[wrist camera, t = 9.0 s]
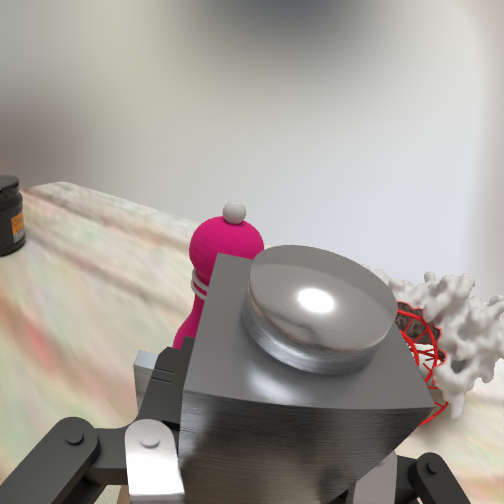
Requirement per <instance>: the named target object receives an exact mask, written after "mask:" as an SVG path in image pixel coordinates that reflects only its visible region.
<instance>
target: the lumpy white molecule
mask: <svg viewBox="0 0 504 504" xmlns="http://www.w3.org/2000/svg"><path fill="white" fill-rule="evenodd" d="M362 266H363V267H365V268H367V269H368V270H370V269H369V267H368V266H367V265H366V264H364V265H362ZM371 272H372V271H371ZM372 273H374V274H375V275H376V276H378V277H379V278H380V279H381V280H382V281H383V282H384V283H385V284H386V285H387V286H388V287H389V288H390V290H391V291H392V293H393V294H394V296H395V298H396V301H397V305H398V312H397V315H396V318H395V320H394V321H395V323H396V325H397V327H398V329H399V330H400V332H401V334H402V336H403V338H404V340H405V342H406V343H408V344H409V345H407V346H408V347H409V346H411V348H412V349H411V348H409V350H410V351H411V352H413V353H414V356H415V357H413V358H414V359H415V362H416V364H417V366H418V367H419V355H418V353H420V354H424V355H427V356H430V357H433V358H430V359H426V360H425V361H429V360H433V359H434V362H433V366H432V369H431V370H430V369H429V368H428V367H427V366H426V365H425V364H424V363H423V365H424V366H425V367H426V368H427V369H428V370H429V371H430V372H429V374H428V376H427V377H426V379H425V380H424V381H425V383H426V382H427V381H428V380H429V379H430V377H431V375H432V380H433V381H432V386H433V385H436V386H437V387H430V386H427V387H428V388H433V389H441V390H442V393H443V398H444V400H445V401H446V403H445V405H444V406H442V405H440V404H438V403H437V402H435V401H434V403H435V404H437V405H439V406H440V407H442V408H441V409H440V410H439V411H438V412H436V413H435V414H434V415H432V416H431V417H430V418H428V419H427V420H426V419H424V421H422V423H421V424H420V425H423V424H425V423H427V422H429V421H431V420H432V419H433V418H435V417H436V416H437V415H439V414H440V413H441V412H442V411H443V410H444V409H445V408H446V407H447V405H448V404H450V409H451V413H450V419H451V420H452V421H456V420H457V419H459V418H460V416H461V415H462V413H463V411H464V404H465V398H464V393H465V392H466V391H470V390H471V389H472V388H473V387H474V380H475V379H476V378H477V377H481V378H482V381H483V382H484V383H489V382H490V381H491V380H492V379H493V376H494V367H495V362H496V361H497V360H498V359H499V358H503V359H504V319H503V318H504V315H503V312H504V297H503V296H502V295H497V296H494V297H492V298H491V300H490V302H489V304H488V303H487V302H486V301H482V302H481V300H480V298H479V296H473V297H472V298H470V299H469V294H470V291H471V290H472V287H474V286H475V280H474V278H472V277H470V276H469V275H468V274H466V273H465V274H462V275H461V276H455V275H448V276H444V277H443V278H442V279H441V280H439V279H435V275H434V273H433V272H426V273H425V274H424V279H425V283H423V284H419V285H417V286H416V287H414V285H413V284H412V283H410V282H409V281H408V280H403V281H400V280H398V279H396V278H391V279H390V278H389V276H388V275H386V274H385V272H384V271H383V270H381V269H378V270H376V271H374V272H372ZM414 343H416V344H423V345H427V344H429V345H433V347H434V349H430V350H425V351H420V350H417V349H416V347H415V345H414ZM437 349H438V350H437ZM433 350H434V354H431V353H427V352H429V351H433ZM444 359H445V360H444ZM437 360H440V361H441V362H442V363H440V364H439V365H437V366H436V364H437ZM420 425H419V426H420Z"/></svg>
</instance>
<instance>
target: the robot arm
mask: <svg viewBox="0 0 504 504" xmlns="http://www.w3.org/2000/svg"><path fill="white" fill-rule="evenodd" d="M194 342H195V338H194V337H189V336H184V339H183V343H182V346H181V350H180V349H176V348H171V347H167V348H166V349H164V350H163V351H162V352H161V353H160V354H159V355H158V357H157V360H156V363H155V366H154V370H153V372H152V375H151V378H150V380H149V383H148V386H147V389H146V392H145V395H144V398H143V401H142V405H141V408H140V411H139V414H138V416H137V417H136V419H135V420H134V421H133V422H132V423H131V424H129V425H127V426H125V427H122V428H117V429H104V428H94V427H93V426H92V425H91V424H90V423H89V422H88V421H86V420H84V419H82V418H78V417H67V418H64V419H62V420H60V421H59V422H58V423H56V425H55V426H54V427H53V428H52V429H51V430H50V431H49V432H48V433H47V434H46V435H45V436H44V438H43V439H42V440H41V441H40V442H39V443H38V444H37V445H36V446H35V447H34V449H33V450H32V451H31V452H30V453H29V454H28V455H27V456H26V457H25V458H24V460H23V461H22V462H21V463H20V464H19V465H18V466H17V467H16V468H15V470H14V471H13V472H12V473H11V474H10V475H9V476H8V477H7V479H6V480H5V481H4V482H3V483H2V484H1V485H0V504H94V503H95V501H96V500H97V498H98V497H99V496H100V494H101V493H102V492H103V490H104V489H105V487H106V486H107V485H129V490H130V499H131V502H130V504H189V503H188V501H187V499H186V496H185V492H184V488H183V483H182V478H181V473H180V469H177V468H178V451H179V436H180V422H181V410H182V398H183V388H184V384H185V380H186V376H187V371H188V367H189V363H190V359H191V355H192V351H193V347H194ZM418 497H420V499H421V501H422V503H423V504H471V503H470V501H469V500H468V498H467V496H466V495H465V493H464V491H463V490H462V488H461V487H460V485H459V483H458V482H457V480H456V479H455V477H454V475H453V474H452V472H451V471H450V469H449V467H448V466H447V464H446V463H445V461H444V460H443V459H442V458H441V457H440V456H439V455H437V454H435V453H431V452H428V453H425V454H423V455H421V456H420V457H419V458H418V459H413V458H408V457H403V456H399V455H396V453H395V451H394V450H393V451H392V452H391V453H390V454H389V455H388V456H387V457H386V458H385V459H384V460H382V461H381V462H380V463H379V464H378V465H377V466H376V467H374V468H373V469H372V470H371V471H370V472H368V473H367V474H366V475H365V476H364V477H362V478H361V479H357V480H355V481H354V482H353V483H352V484H350V485H349V488H348V489H347V490H346V491H344V492H343V493H342V494H340V495H339V496H338V497H336V498H335V499H333V500H332V501H331V502H326V503H325V504H419V502H418V500H417V498H418Z"/></svg>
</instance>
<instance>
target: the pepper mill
mask: <svg viewBox="0 0 504 504" xmlns="http://www.w3.org/2000/svg"><path fill="white" fill-rule="evenodd" d="M245 216H246V209H245V206H244V205H243V204H242V203H240V202H238V201H231V202H229V203H227V204H226V205H225V206H224V208H223V216H221V217H214V218H212V219H208V220H207V221H205V222H204V223H202V224H201V225H200V226H199V227H198V228H197V229H196V231H195V232H194V234H193V236H192V239H191V242H190V247H189V255H190V260H191V262H192V264H193V266H194V267H195V268H194V269H193V271H192V280H191V288H192V290H193V292H194V293H195V300H194V305H193V309H192V312H191V314H190V315H189V317H188V318H187V319H186V320H185V322H184V323H183V324H182V325H181V327H180V328H179V330H178V332H177V334H176V336H175V339H174V343H173V348H176V349H180V350H181V346H182V343H183V339H184V336H189V337H194V338H196V334H197V330H198V326H199V322H200V318H201V315H202V311H203V307H204V303H205V299H206V295H207V291H208V287H209V284H210V280H211V276H212V272H213V269H214V265H215V261H216V257H217V254H218V253H222V254H227V255H232V256H237V257H242V258H247V259H252V260H254V258H255V257H256V256H257V255H258V254H259V253H260V252H262V251H263V250H264V243H263V240H262V238H261V235H260V233H259V232H258V231H257V230H256V229H255V228H254V227H253V226H252V225H251V224H249V223H247V222H246V221H244V218H245Z"/></svg>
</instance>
